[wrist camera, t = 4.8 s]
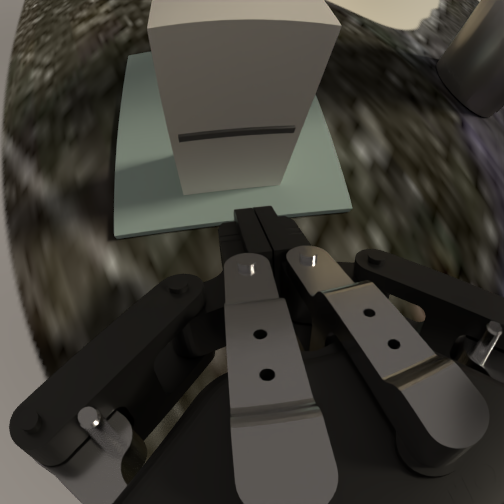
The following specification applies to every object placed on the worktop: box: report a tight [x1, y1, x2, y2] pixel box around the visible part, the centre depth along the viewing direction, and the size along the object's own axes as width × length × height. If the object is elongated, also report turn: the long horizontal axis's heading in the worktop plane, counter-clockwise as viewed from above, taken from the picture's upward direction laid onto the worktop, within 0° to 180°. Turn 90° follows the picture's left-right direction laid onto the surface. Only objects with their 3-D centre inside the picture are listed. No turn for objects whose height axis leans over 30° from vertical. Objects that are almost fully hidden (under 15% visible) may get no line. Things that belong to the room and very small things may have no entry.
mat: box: [114, 52, 352, 239], centre depth 20 cm, size 15×17×1 cm
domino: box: [147, 0, 341, 195], centre depth 13 cm, size 6×3×12 cm, turn 99°
